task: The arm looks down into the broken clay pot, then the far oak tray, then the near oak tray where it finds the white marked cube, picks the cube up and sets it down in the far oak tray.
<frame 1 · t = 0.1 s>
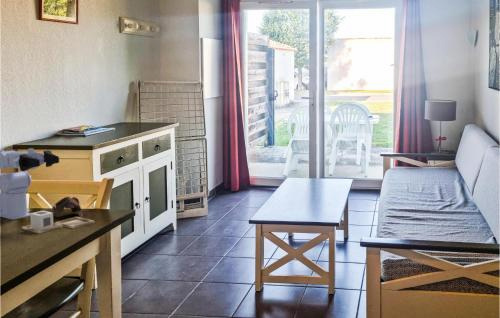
hand: (48, 161, 207), 22 cm above the table, tool horizontal, fingers open, 7 cm apart
tray near: (42, 228, 205), on the table
tray far: (74, 224, 211), on the table
white marked cube: (42, 228, 205), resting on tray near
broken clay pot: (70, 217, 221), on the table
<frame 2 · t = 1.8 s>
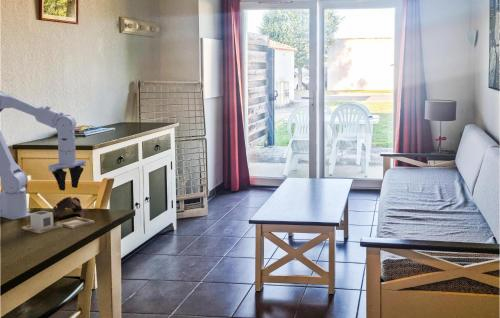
hand: (68, 188, 220), 10 cm above the table, tool pointing down, fingers open, 5 cm apart
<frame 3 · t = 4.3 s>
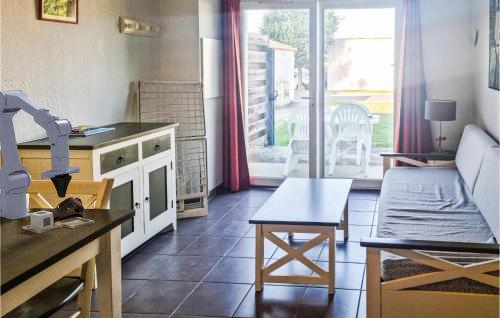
hand: (61, 197, 207), 10 cm above the table, tool pointing down, fingers closed
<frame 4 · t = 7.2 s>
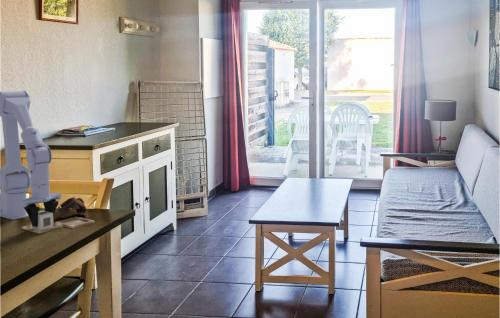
hand: (42, 224, 205), 2 cm above the table, tool pointing down, fingers closed on white marked cube, 5 cm apart
white marked cube: (42, 228, 205), resting on tray near, touching gripper
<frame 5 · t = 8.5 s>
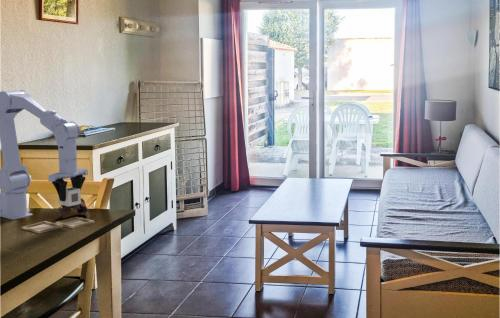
hand: (69, 199, 208), 9 cm above the table, tool pointing down, fingers closed on white marked cube, 5 cm apart
white marked cube: (69, 203, 209), point 7 cm above the table, touching gripper
when the fingers open (3 cm above the table, at t = 10.2 s): white marked cube drops 1 cm, resting on tray far.
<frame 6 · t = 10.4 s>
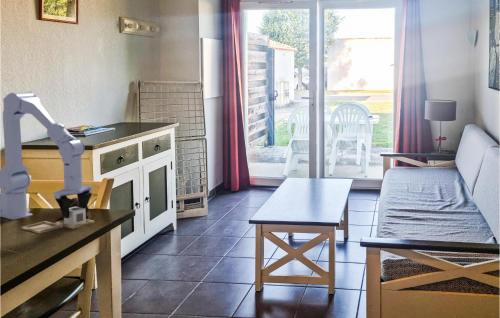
hand: (74, 215, 210), 3 cm above the table, tool pointing down, fingers open, 6 cm apart
white marked cube: (75, 223, 211), resting on tray far
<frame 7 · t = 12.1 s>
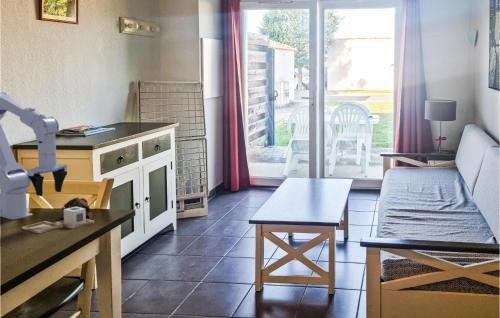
hand: (49, 193, 212), 10 cm above the table, tool pointing down, fingers open, 7 cm apart
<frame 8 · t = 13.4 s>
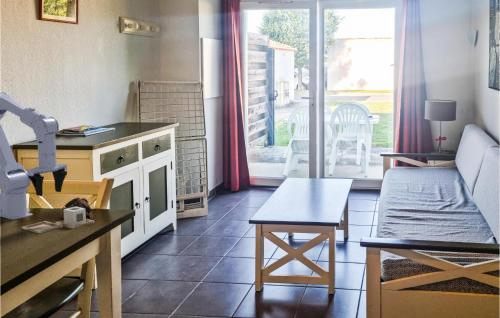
hand: (49, 193, 212), 10 cm above the table, tool pointing down, fingers open, 7 cm apart
at the end: white marked cube 0.1 cm off-centre on the tray far, point 0.3 cm above the tray far's base; white marked cube tilted 0°; the gripper is holding nothing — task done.
